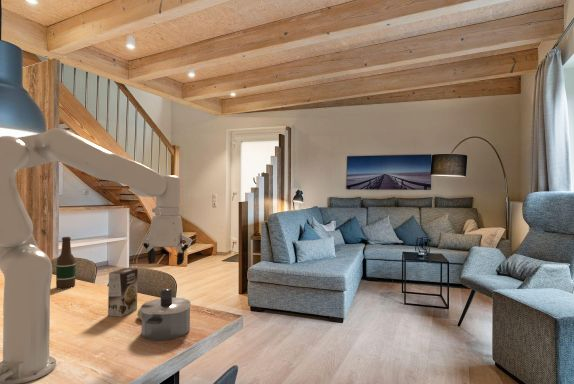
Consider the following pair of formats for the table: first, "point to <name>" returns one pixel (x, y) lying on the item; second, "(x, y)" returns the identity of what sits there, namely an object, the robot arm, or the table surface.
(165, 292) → the lid
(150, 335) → the pot
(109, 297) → the coffee box
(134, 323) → the table surface
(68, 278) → the beer bottle
